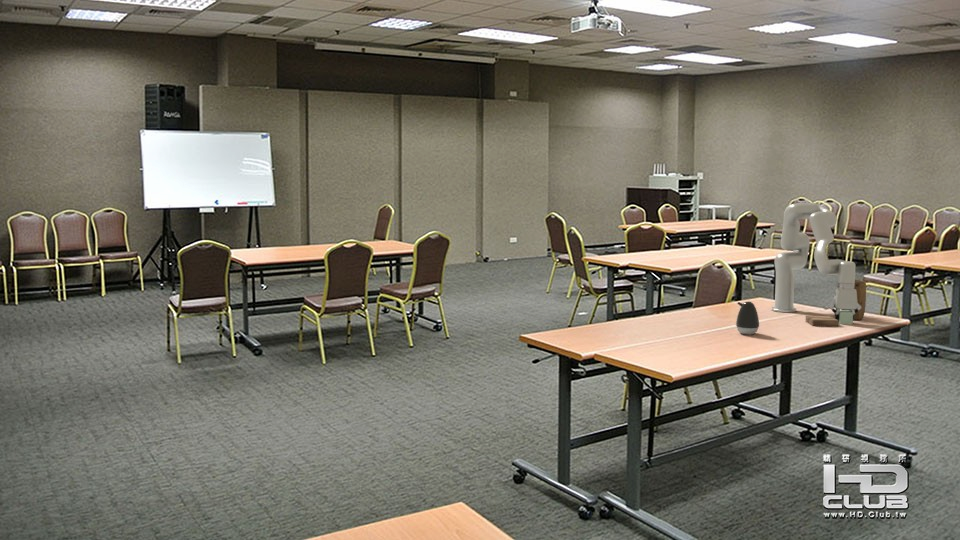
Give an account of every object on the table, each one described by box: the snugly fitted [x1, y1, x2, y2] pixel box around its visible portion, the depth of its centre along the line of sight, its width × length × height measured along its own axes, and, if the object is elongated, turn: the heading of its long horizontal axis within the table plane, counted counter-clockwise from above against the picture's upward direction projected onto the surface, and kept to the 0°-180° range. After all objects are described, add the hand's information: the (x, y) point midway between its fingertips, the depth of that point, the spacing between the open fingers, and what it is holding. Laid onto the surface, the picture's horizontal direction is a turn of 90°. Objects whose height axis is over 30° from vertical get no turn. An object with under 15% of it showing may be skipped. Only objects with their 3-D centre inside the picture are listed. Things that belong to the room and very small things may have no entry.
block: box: [840, 279, 867, 321], centre depth 406 cm, size 11×8×20 cm
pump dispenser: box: [735, 301, 760, 336], centre depth 370 cm, size 10×10×15 cm
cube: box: [839, 309, 854, 325], centre depth 396 cm, size 6×6×6 cm
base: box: [805, 315, 840, 328], centre depth 393 cm, size 12×12×3 cm
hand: (844, 321), depth 396 cm, fingers closed on cube, 6 cm apart
